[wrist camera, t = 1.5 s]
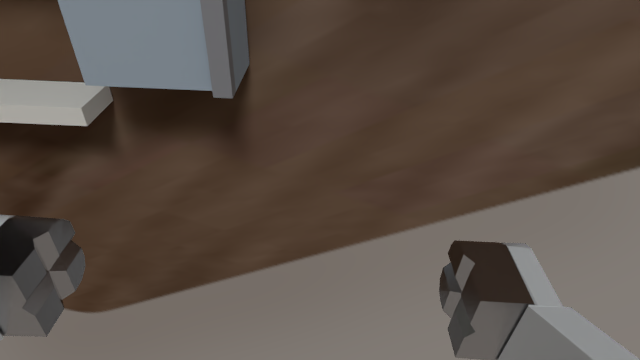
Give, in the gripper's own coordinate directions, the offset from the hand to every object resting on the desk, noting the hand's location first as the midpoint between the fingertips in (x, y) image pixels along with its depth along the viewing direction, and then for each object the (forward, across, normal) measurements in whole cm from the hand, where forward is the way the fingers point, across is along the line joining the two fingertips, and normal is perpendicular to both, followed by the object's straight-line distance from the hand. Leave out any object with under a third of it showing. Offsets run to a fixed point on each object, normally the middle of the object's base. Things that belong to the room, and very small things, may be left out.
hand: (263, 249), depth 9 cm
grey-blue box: (+19, +7, 0) cm, 20 cm away
